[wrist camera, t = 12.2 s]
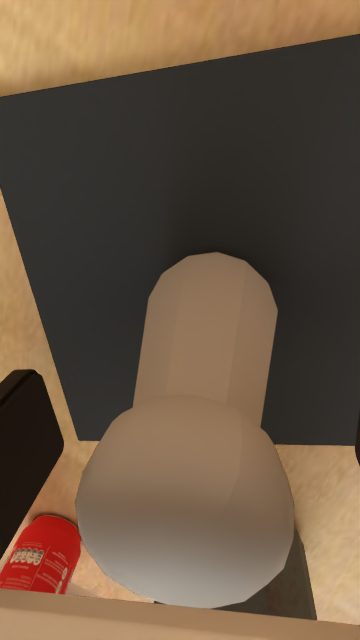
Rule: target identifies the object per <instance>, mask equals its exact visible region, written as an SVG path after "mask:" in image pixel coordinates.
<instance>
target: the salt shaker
mask: <svg viewBox="0 0 360 640" xmlns="http://www.w3.org/2000/svg"><path fill="white" fill-rule="evenodd" d="M277 313H278V309H277V307H276V304H275V301H274V298H273V295H272V292H271V289H270V287H269V284H268V283H267V281H266V280H265V279H264V278H263V277H262V276H261V275H260V274H259V273H258V272H256V271H255V270H254V269H253V268H252V267H251V266H250V265H249V264H248V263H247V262H246V261H244V260H241V259H238V258H235V257H232V256H228V255H225V254H222V253H219V252H213V253H206V254H199V255H192V256H187V257H186V258H184V259H183V260H181V261H180V262H178V263H177V264H176V265H174V266H173V267H171V268H170V269H168V270H167V271H165V272H164V273H163V274H162V275H161V276H160V278H159V280H158V282H157V284H156V286H155V287H154V289H153V291H152V293H151V295H150V296H149V299H148V306H147V313H146V319H145V326H144V333H143V340H142V347H141V354H140V361H139V368H138V374H137V381H136V388H135V395H134V402H133V408H131V409H129V410H127V411H125V412H123V413H122V414H120V415H119V416H118V417H117V418H116V419H115V420H114V421H112V423H111V425H110V426H109V428H108V429H107V431H106V433H105V434H104V436H103V437H102V439H101V441H100V442H99V444H98V445H97V447H96V448H95V450H94V452H93V454H92V456H91V458H90V459H89V461H88V463H87V465H86V467H85V469H84V470H83V473H82V477H81V480H80V484H79V488H78V492H77V496H76V499H75V507H76V514H77V521H78V528H79V534H80V536H81V538H82V540H83V542H84V544H85V547H86V549H87V551H88V552H89V554H90V555H91V556H92V558H93V559H94V560H95V562H96V563H97V564H98V566H99V567H100V568H101V570H102V571H103V572H104V574H105V575H106V576H107V577H109V578H111V579H112V580H114V581H115V582H117V583H119V584H120V585H122V586H123V587H125V588H127V589H128V590H130V591H131V592H133V593H134V594H136V595H139V596H142V597H145V598H148V599H151V600H154V601H157V602H161V603H164V604H167V605H175V606H185V607H194V608H207V609H211V608H216V607H221V606H225V605H230V604H235V603H240V602H244V601H246V600H247V599H248V598H250V597H251V596H252V595H254V594H255V593H256V592H258V591H259V590H260V589H262V588H263V587H264V586H266V585H267V584H268V583H269V582H270V581H271V580H272V579H273V578H274V577H275V576H276V575H278V574H279V573H280V572H281V571H282V570H283V569H284V566H285V563H286V560H287V557H288V554H289V551H290V548H291V544H292V541H293V538H294V502H293V498H292V494H291V490H290V486H289V482H288V478H287V475H286V472H285V470H284V468H283V465H282V463H281V460H280V458H279V456H278V453H277V451H276V448H275V446H274V444H273V442H272V441H271V439H270V437H269V436H268V434H267V433H266V432H265V431H263V430H262V429H261V428H260V426H261V419H262V413H263V406H264V400H265V393H266V386H267V380H268V373H269V366H270V360H271V353H272V347H273V340H274V333H275V327H276V320H277Z"/></svg>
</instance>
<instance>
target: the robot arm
mask: <svg viewBox="0 0 360 640" xmlns="http://www.w3.org/2000/svg"><path fill="white" fill-rule="evenodd" d="M63 448H64V440H63V437H62V434H61V431H60V428H59V425H58V422H57V419H56V416H55V413H54V410H53V407H52V404H51V401H50V398H49V395H48V392H47V389H46V386H45V383H44V380H43V377H42V376H41V375H40V374H38V373H37V372H36V371H35V370H33V369H26V370H14V371H12V372H11V373H10V374H9V375H8V376H7V377H6V378H5V379H4V380H3V381H2V382H1V383H0V559H1V558H2V556H3V554H4V553H5V551H6V549H7V547H8V546H9V544H10V542H11V541H12V539H13V537H14V535H15V534H16V532H17V530H18V528H19V527H20V525H21V523H22V521H23V520H24V518H25V516H26V515H27V513H28V511H29V509H30V508H31V506H32V504H33V502H34V501H35V499H36V497H37V495H38V494H39V492H40V490H41V488H42V487H43V485H44V483H45V482H46V480H47V478H48V476H49V475H50V473H51V471H52V469H53V468H54V466H55V464H56V462H57V461H58V459H59V457H60V456H61V454H62V452H63ZM355 452H356V457H357V460H358V463H359V465H360V412H359V419H358V427H357V435H356V442H355ZM0 640H360V625H352V624H344V623H336V622H327V621H317V620H308V619H298V618H289V617H279V616H270V615H261V614H251V613H242V612H232V611H223V610H213V609H204V608H194V607H185V606H175V605H165V604H155V603H145V602H135V601H125V600H115V599H105V598H95V597H85V596H75V595H65V594H55V593H44V592H34V591H23V590H12V589H2V588H0Z"/></svg>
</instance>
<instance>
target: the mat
mask: <svg viewBox="0 0 360 640" xmlns="http://www.w3.org/2000/svg"><path fill="white" fill-rule="evenodd" d="M0 188H1V192H2V195H3V198H4V201H5V205H6V208H7V211H8V214H9V218H10V221H11V224H12V227H13V231H14V234H15V237H16V240H17V243H18V247H19V250H20V253H21V256H22V260H23V263H24V266H25V269H26V273H27V276H28V279H29V282H30V285H31V289H32V292H33V295H34V298H35V302H36V305H37V308H38V311H39V315H40V318H41V321H42V324H43V327H44V331H45V334H46V337H47V340H48V344H49V347H50V350H51V353H52V357H53V360H54V363H55V366H56V370H57V373H58V376H59V379H60V382H61V386H62V389H63V392H64V395H65V399H66V402H67V405H68V408H69V412H70V415H71V418H72V421H73V424H74V428H75V431H76V434H77V437H78V440H79V441H101V439H102V437H103V436H104V434H105V433H106V431H107V429H108V428H109V426H110V425H111V423H112V421H114V420H115V419H116V418H117V417H118V416H119V415H120V414H122V413H123V412H125V411H127V410H129V409H131V408H133V402H134V395H135V388H136V381H137V374H138V368H139V361H140V354H141V347H142V340H143V333H144V326H145V319H146V313H147V306H148V299H149V296H150V295H151V293H152V291H153V289H154V287H155V286H156V284H157V282H158V280H159V278H160V276H161V275H162V274H163V273H164V272H165V271H167V270H168V269H170V268H171V267H173V266H174V265H176V264H177V263H178V262H180V261H181V260H183V259H184V258H186V257H187V256H192V255H199V254H206V253H213V252H219V253H222V254H225V255H228V256H232V257H235V258H238V259H241V260H244V261H246V262H247V263H248V264H249V265H250V266H251V267H252V268H253V269H254V270H255V271H256V272H258V273H259V274H260V275H261V276H262V277H263V278H264V279H265V280H266V281H267V283H268V284H269V287H270V289H271V292H272V295H273V298H274V301H275V304H276V307H277V309H278V313H277V320H276V327H275V333H274V340H273V347H272V353H271V360H270V366H269V373H268V380H267V386H266V393H265V400H264V406H263V413H262V419H261V426H260V428H261V429H262V430H263V431H265V432H266V433H267V434H268V436H269V437H270V439H271V441H272V442H273V444H288V445H341V446H355V442H356V435H357V427H358V419H359V412H360V34H356V35H351V36H345V37H339V38H334V39H328V40H322V41H317V42H311V43H305V44H299V45H294V46H288V47H282V48H277V49H271V50H265V51H259V52H254V53H248V54H242V55H237V56H231V57H225V58H220V59H214V60H208V61H202V62H197V63H191V64H185V65H180V66H174V67H168V68H163V69H157V70H151V71H145V72H140V73H134V74H128V75H123V76H117V77H111V78H106V79H100V80H94V81H88V82H83V83H77V84H71V85H66V86H60V87H54V88H48V89H43V90H37V91H31V92H26V93H20V94H14V95H9V96H3V97H0Z"/></svg>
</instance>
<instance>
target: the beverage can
mask: <svg viewBox="0 0 360 640" xmlns="http://www.w3.org/2000/svg"><path fill="white" fill-rule="evenodd" d="M80 541H81V536H80V534H79V529H78V528H77V527H76V526H75V525H74V524H73V523H71V522H70V521H68V520H67V519H65V518H62V517H59V516H55V515H41V516H39V517H37V518H36V519H35V520H34V521H33V522H32V523H31V524H30V525H29V526H27V527H26V528H25V529H24V530H23V531H22V533H21V535H20V536H19V538H18V540H17V542H16V543H15V545H14V547H13V549H12V551H11V552H10V554H9V556H8V558H7V559H6V561H5V563H4V565H3V567H2V568H1V570H0V588H2V589H12V590H23V591H34V592H44V593H55V594H65V593H66V590H67V588H68V585H69V582H70V580H71V577H72V575H73V572H74V570H75V567H76V564H77V562H78V559H79V557H80V552H81V550H80Z"/></svg>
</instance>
